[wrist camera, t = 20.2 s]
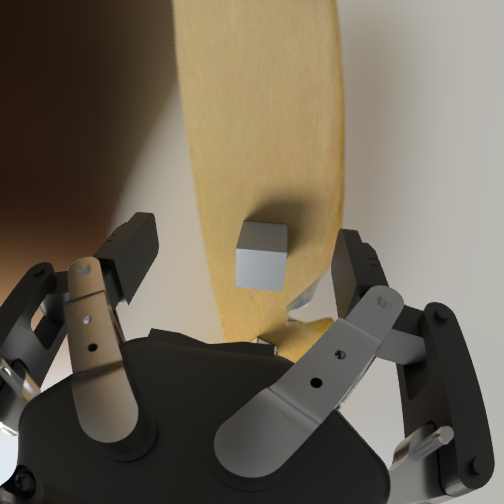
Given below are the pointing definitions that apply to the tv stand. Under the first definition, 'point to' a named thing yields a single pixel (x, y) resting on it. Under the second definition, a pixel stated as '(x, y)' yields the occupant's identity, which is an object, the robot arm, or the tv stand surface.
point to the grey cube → (261, 256)
